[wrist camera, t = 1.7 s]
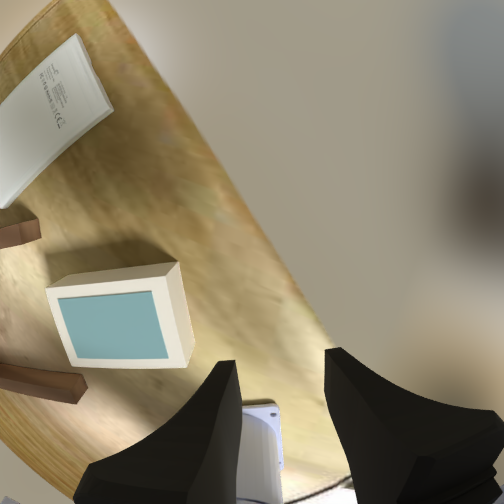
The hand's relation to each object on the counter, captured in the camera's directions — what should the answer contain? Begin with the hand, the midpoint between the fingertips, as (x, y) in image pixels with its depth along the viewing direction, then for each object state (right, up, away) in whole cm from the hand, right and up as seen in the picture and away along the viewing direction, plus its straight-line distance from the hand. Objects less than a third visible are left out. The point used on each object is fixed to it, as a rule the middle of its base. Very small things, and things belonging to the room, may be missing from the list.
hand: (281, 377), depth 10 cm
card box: (-10, +1, +10) cm, 14 cm away
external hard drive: (-18, +15, +7) cm, 24 cm away
